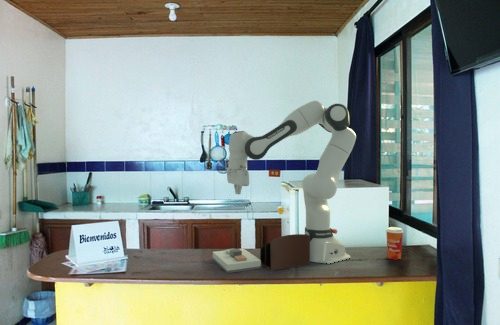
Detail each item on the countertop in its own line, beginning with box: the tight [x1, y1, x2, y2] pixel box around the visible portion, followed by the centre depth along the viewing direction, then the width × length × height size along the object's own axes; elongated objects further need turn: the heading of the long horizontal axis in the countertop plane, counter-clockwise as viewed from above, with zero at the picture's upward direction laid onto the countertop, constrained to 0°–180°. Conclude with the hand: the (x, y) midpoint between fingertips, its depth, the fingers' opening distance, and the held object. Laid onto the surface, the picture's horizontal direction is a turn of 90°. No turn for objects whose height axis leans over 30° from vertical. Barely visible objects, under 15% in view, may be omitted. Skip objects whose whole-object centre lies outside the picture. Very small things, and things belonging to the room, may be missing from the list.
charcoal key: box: [230, 248, 242, 258], centre depth 156 cm, size 4×4×3 cm
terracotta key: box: [234, 255, 247, 262], centre depth 151 cm, size 4×4×3 cm
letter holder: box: [259, 233, 311, 272], centre depth 156 cm, size 10×20×14 cm, turn 116°
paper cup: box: [385, 226, 405, 261], centre depth 165 cm, size 8×8×14 cm
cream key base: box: [212, 248, 262, 274], centre depth 156 cm, size 15×20×4 cm
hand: (237, 194), depth 170 cm, fingers closed
